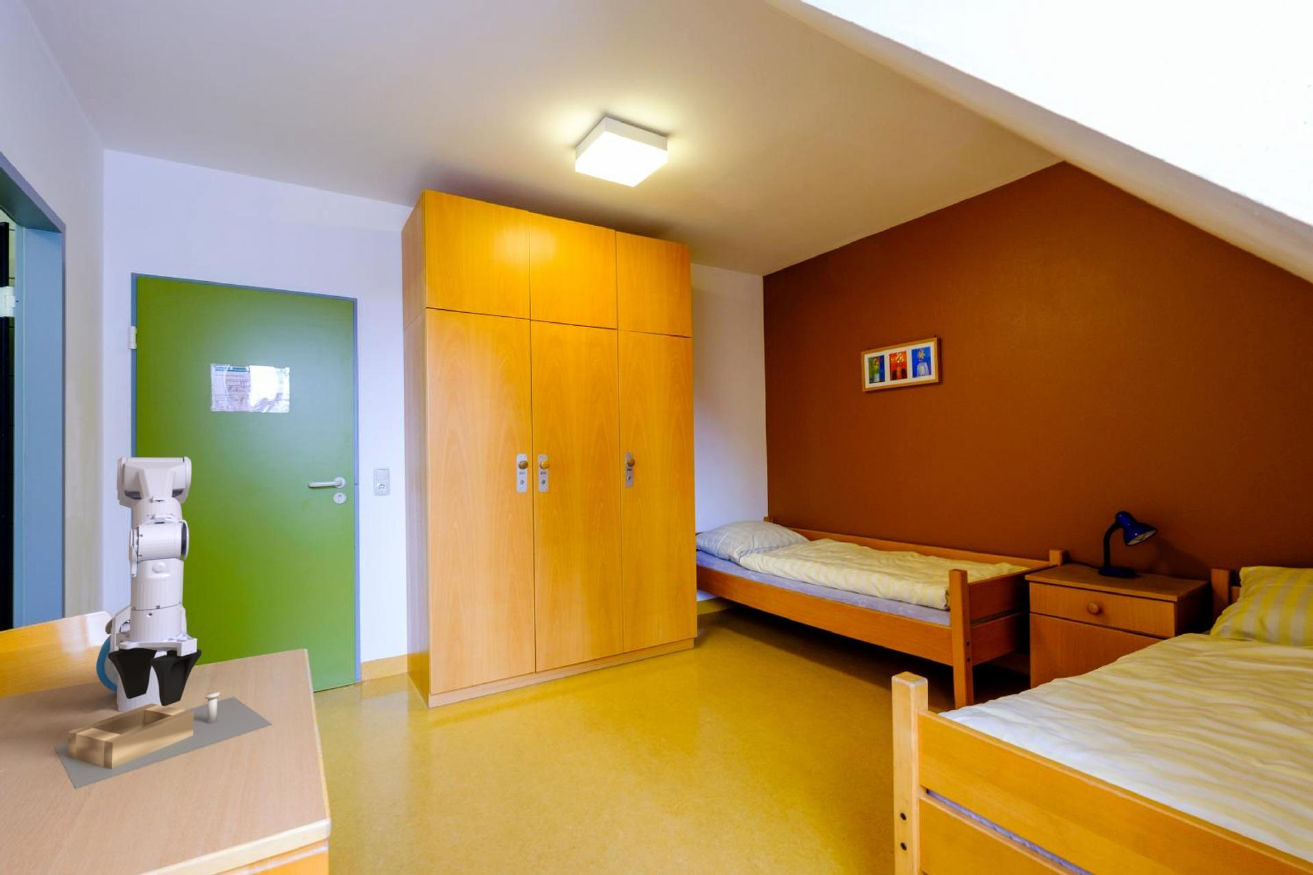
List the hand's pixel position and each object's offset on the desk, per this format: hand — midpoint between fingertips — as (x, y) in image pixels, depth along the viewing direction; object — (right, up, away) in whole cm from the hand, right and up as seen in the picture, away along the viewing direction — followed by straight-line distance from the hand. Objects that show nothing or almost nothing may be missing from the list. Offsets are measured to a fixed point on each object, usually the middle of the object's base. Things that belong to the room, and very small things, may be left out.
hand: (153, 699), depth 82 cm
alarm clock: (-24, -10, +24) cm, 35 cm away
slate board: (-2, -9, +4) cm, 10 cm away
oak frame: (-4, -7, +1) cm, 8 cm away
